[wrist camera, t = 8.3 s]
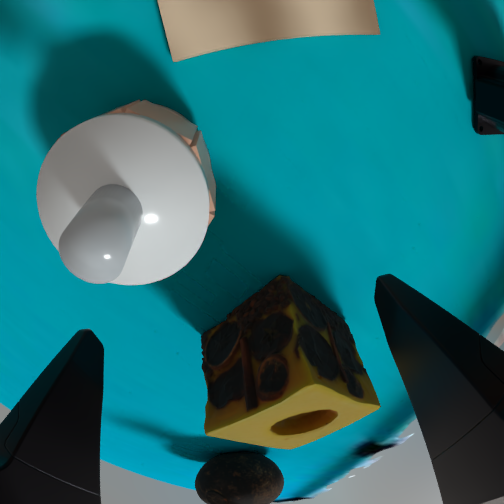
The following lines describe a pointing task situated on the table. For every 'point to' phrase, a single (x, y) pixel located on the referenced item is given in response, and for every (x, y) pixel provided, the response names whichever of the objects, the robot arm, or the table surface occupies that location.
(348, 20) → the mat
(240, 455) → the dark brown vase
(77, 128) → the lid
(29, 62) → the table surface
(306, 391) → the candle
